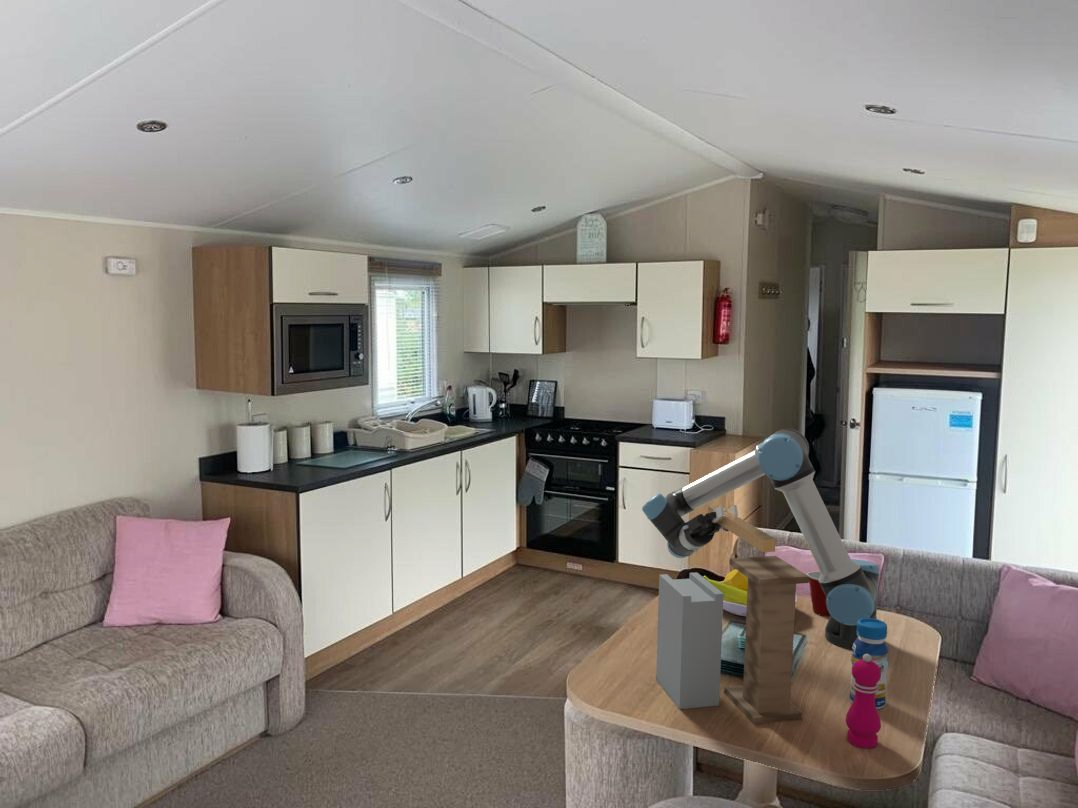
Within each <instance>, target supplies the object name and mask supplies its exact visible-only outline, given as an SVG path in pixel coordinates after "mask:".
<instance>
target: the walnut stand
mask: <svg viewBox="0 0 1078 808" xmlns="http://www.w3.org/2000/svg"><path fill="white" fill-rule="evenodd" d="M728 563H729V566H730V567H732V568H733V569H737V570H738V571H739V572H741V573H742V574H744V575H745V576H746V577H748V588H747V611H746V616H745V637H744V638H745V639H744V641H745V642H744V660H743V661H744V662H743V663H744V665H743V680H742V681H743V685H730V686H724V690H723V693H724V694H725V695H726V696H727V698H729V700H731V702H732V703H733V704H734V705H735V706H736V707H737V709H739V711H741V712H742V713H743V715H744V716H745V717H746V718H748V720H749V721H750V722H751V723H752V724H753V725H759V724H768V723H779V722H787V721H788V722H789V721H798V720H802V719H803V713H802V711H801V710H800V709H798V708H797V707H796V705H794V704H793V703H792V702H791V699H792V698H791V697H792V696H791V694H792V675H793V674H792V673H793V654H794V634H795V633H794V632H795V616H796V611H795V610H796V603H795V599H796V597H797V585H798V584H801V585H802V584H809V576H808V575H807V573H804V572H803V571H802V570H800V569H798V568H796V567H795V566H793V565H791V564H790V563H788V562H787V561H785V560H784V559H782V558H781V557H778V556H777V555H768V556H767V555H765V556H748V557H747V556H746V557H744V556H743V557H731V558H729V562H728Z"/></svg>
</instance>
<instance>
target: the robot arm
mask: <svg viewBox="0 0 1078 808" xmlns="http://www.w3.org/2000/svg"><path fill="white" fill-rule="evenodd" d="M809 445H810V444H809V442H808V440H807V438H806V437H805V435H804V434H803V433H801V432H800V431H798V430H796V429H793V428H781V429H779V430H777V431H775V432H774V433H773V434H772V435H769V437H768V436H767V438H765V439H764V440H763V441H762V442H760V443H758V444H757V445H756V446H755V449H754V450H753V451H750V452H747V454H745V455H743V456H741V457H738V458H737V459H734V460H733V461H731V462H729V463H727V464H726V465H723V466H722V467H720V468H717V469H716V470H714V471H712V472H710V473H707V474H706V475H704V476H702V477H701V478H698V479H696V480H695V481H693V482H691V483H689V484H687V485H685V486H683V487H682V488H679V489H677V490H673V491H671V492H670V493H669V494H667V495H666V496H664V495H663V494H661V493H657V494H656V495H654V496H653V497H651V498H650V499H649V500H648V501H647V502H646V503H645V504H644V505H643V506H642V507H641V511H642V512H643V513H644V515H645V516H646V517H647V520H649V521H650V522H651V523H652V525H653V526H654V527H655V528H656V529H657V531H659V532H660V534H661V535H662V536H663V537H664V539H665V540H666V542H667V544H666V545H667V550H668V552H669V554H670V555H671V556H673V557H675V558H677V559H685V558H687V557H690V556H691V555H693V554H694V553H696V552H698V550H700V549H701V548H703V547H704V546H705V545H707V544H708V543H710V542H711V541H712V540H713V538H714V536H715V534H716V533H718V532H719V531H720V530H722V531H725V532H730V531H729V530H727V529H725V528H724V527H722V526H721V525H719V524H718V523H716V522H717V521H718V520H719V519H721V518H722V517H724V516H725V515H724V509H725V508H724V505H718V506H719V507H718V508H716V509H715V510H714V511H712V512H711V513H708V512H707V513H705V514H702V513H699V514H697V515H696V516H694V517H693V518H692V519H690V520H689V521H685V520H684V519H683V518H682V517H683V516H685V515H688V514H689V513H691V512H693V511H695V510H697V509H699V508H700V507H702V506H705V505H707V504H709V503H711V502H713V501H715V500H717V499H719V498H722V497H723V496H725V495H727V494H729V493H731V492H733V491H735V490H737V489H739V488H741V487H743V486H745V485H747V484H749V483H751V482H753V481H755V480H757V479H759V478H761V477H763V476H767V477H768V478H769V480H770V482H771V484H772V485H773V488H774V490H777V491H779V492H782V493H783V495H784V498H785V500H786V502H787V505H788V507H789V508H790V511H791V513H792V514H793V517H794V519H795V521H796V524H797V525H798V527H799V529H800V531H801V534H802V535H803V538H804V540H805V542H806V543H807V546H808V549H809V550H810V552H811V554H812V555H811V556H813V559H814V561H815V563H816V565H817V567H818V569H819V572H821V575H820V578H819V583H820V585H821V587H822V589H823V591H824V594H825V596H826V598H827V599H826V605H827V609H828V611H829V613H830V615H829V619H828V621H827V623H826V626H825V628H824V629H825V630H824V637H825V639H826V640H827V641H828V642H830V643H832V644H833V645H836V646H838V647H841V648H845V649H850V650H852V646H853V644H854V642H855V640H856V639H857V638H858V637H859V636H858V635H857V622H858V620H859V619H862V618H872V619H877V620H878V618H877V608H878V595H879V593H878V592H879V579H880V578H879V576H880V575H881V573H880V567H879V565H878V564H877V563H875V562H872V561H869V560H863V559H858V558H851V557H850V555H849V552H848V551H847V549H846V546H845V544H844V542H843V540H842V538H841V536H840V534H839V532H838V530H837V527H836V526H835V524H834V521H833V519H832V517H831V515H830V513H829V511H828V508H827V507H826V505H825V503H824V500H823V499H822V497H821V495H820V492H819V490H818V488H817V486H816V484H815V481H814V480H813V479H814V477H815V476H814V475H815V473H816V470H815V468H814V466H813V465H812V462H811V461H810V459H809V458H810V457H809V453H810V446H809ZM737 506H738V505H737V504H734V505H732V506H730V507H729V508H728V509H726V510H727V511H728V512H730V513H732V514H734V515H735V516H737V517H739V512H738V507H737Z"/></svg>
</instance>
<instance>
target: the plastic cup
mask: <svg viewBox="0 0 1078 808" xmlns="http://www.w3.org/2000/svg"><path fill="white" fill-rule="evenodd" d="M806 575H808V576H809V583H808V584H809V590H810V598H811V599H810V600H811V604H812V605H811V606H812V610H813V611H812V612H813V613H814V614H816V615H818V614H820V615H819V616H823V615H829V616H831V615H830V613H829V611H828V609H827V605H826V599H827V598H826V596H825V594H824V591H823V589H822V587H821V585H820V583H819V578H820V575H821V572H820V571H809V572H807V573H806Z"/></svg>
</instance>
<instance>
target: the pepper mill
mask: <svg viewBox="0 0 1078 808" xmlns="http://www.w3.org/2000/svg"><path fill="white" fill-rule="evenodd" d="M871 659H872V658H871V656H870V655H869V654H864V655H863V659H862V660H858V661H856V662H855V663H854V664H853V666H852V665H851V671H852V676H853V677H854V679H855V680H854V681H853V683H854V685H853V687H854V689H855V698H854V701H853V703H852V702H851V705H850V707H849V708H848V710H847V713H846V716H845V723H846V726H847V728H848V729H847V732H846V740H847V741H848V743H850V744H851V745H853V746H855V747H857V748H862V749H872V748H873V749H874V748H875V747H876V746H877V745H878V738H879V735H878V733H879V731H880V730H881V728H882V725H881V724H882V721H881V717H880V714H879V712H878V711H879V710H878V709H876V706H875V692H877V691H878V689H877V687H878V684H877V682H878V681H879V680H880V678H881V670H880V668H879V666H878V665H877V664H876V663H875V662H873V661H871Z"/></svg>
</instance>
